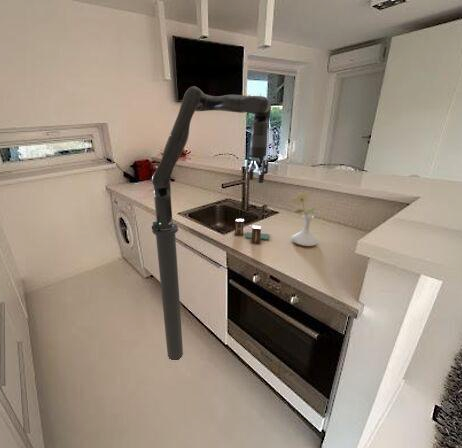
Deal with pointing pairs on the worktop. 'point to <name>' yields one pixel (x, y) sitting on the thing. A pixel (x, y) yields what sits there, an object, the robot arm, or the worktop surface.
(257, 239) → the brown white-topped cylinder
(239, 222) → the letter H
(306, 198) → the flower in vase
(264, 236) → the word mat
